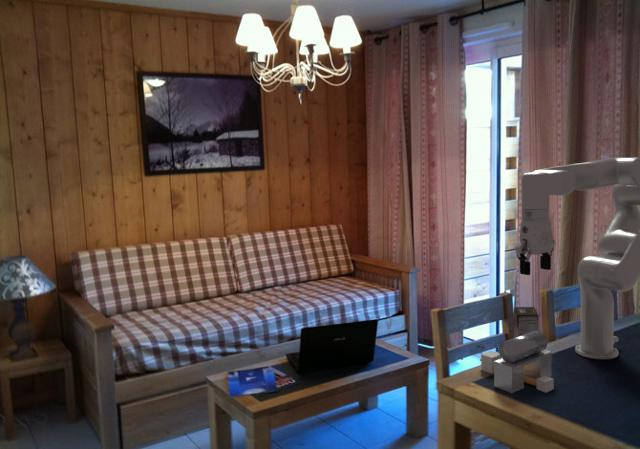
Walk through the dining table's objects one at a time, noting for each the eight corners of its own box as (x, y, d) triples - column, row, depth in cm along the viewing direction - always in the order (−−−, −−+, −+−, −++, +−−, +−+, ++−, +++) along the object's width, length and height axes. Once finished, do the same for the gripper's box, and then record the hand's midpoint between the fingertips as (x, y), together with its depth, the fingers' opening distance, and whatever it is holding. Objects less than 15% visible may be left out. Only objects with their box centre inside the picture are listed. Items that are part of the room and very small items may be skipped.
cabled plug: (487, 364, 177) (486, 349, 176) (554, 388, 157) (554, 371, 157) (477, 368, 174) (477, 352, 174) (544, 393, 155) (544, 375, 154)
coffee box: (513, 354, 185) (513, 306, 183) (534, 354, 183) (534, 306, 181) (517, 364, 176) (517, 314, 174) (539, 365, 175) (539, 314, 173)
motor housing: (533, 370, 171) (533, 327, 169) (551, 376, 166) (551, 331, 164) (494, 386, 161) (493, 340, 159) (511, 393, 156) (511, 346, 154)
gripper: (527, 218, 157) (528, 278, 160) (564, 212, 167) (564, 269, 169) (505, 216, 164) (506, 274, 166) (542, 210, 173) (542, 265, 175)
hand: (535, 271), depth 167 cm, fingers open, 9 cm apart
